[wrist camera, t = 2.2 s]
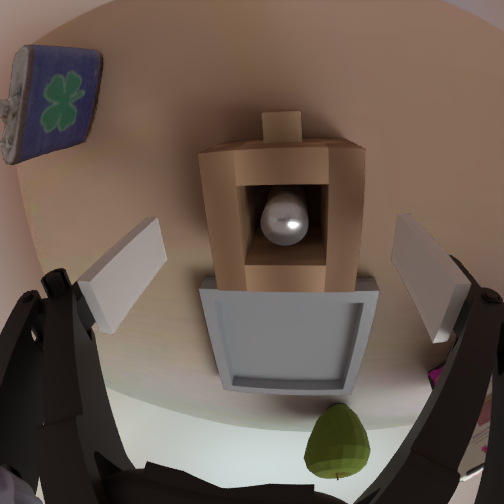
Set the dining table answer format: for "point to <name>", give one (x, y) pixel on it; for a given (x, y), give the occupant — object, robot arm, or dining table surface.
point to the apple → (337, 444)
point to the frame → (276, 173)
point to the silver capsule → (285, 214)
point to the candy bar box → (479, 440)
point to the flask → (49, 100)
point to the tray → (289, 338)
